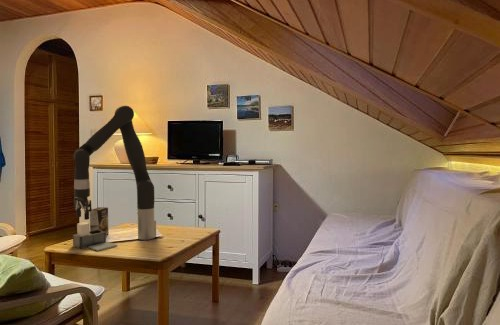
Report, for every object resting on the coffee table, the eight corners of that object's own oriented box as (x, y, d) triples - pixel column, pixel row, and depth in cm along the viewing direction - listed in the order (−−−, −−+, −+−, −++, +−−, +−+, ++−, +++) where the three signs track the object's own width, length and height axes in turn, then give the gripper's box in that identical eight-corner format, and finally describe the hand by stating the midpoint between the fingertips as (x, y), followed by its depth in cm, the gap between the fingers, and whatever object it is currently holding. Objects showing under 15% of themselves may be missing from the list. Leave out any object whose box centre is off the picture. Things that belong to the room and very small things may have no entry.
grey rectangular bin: (98, 240, 212) (97, 229, 211) (105, 242, 206) (105, 232, 206) (73, 246, 201) (72, 234, 200) (80, 249, 196) (80, 237, 195)
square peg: (85, 244, 204) (85, 222, 203) (90, 245, 201) (89, 223, 201) (77, 246, 201) (77, 223, 200) (81, 247, 198) (81, 224, 197)
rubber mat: (108, 243, 206) (108, 241, 206) (117, 246, 200) (117, 244, 200) (88, 247, 197) (88, 246, 197) (97, 251, 192) (97, 249, 192)
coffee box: (100, 238, 215) (99, 210, 214) (89, 237, 216) (89, 209, 215) (109, 234, 224) (108, 207, 223) (99, 233, 225) (98, 206, 224)
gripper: (95, 188, 197) (96, 219, 198) (82, 185, 206) (83, 215, 207) (81, 189, 191) (82, 221, 193) (68, 187, 200) (69, 217, 202)
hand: (82, 218), depth 200 cm, fingers open, 8 cm apart
